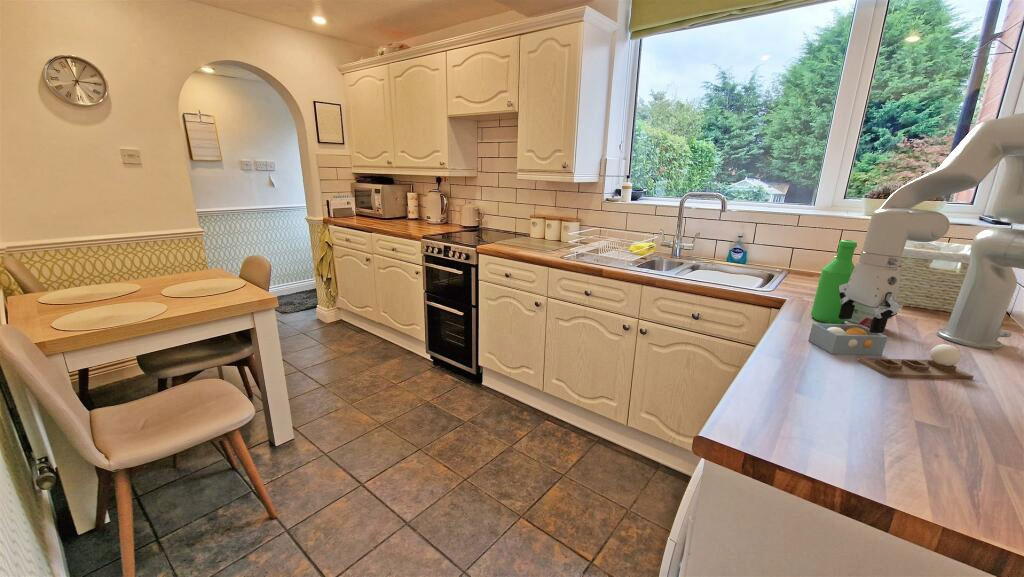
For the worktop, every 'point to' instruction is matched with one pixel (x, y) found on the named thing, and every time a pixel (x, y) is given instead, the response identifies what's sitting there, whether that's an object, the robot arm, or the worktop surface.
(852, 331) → the orange ball
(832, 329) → the cream ball in tray
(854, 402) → the worktop surface
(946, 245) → the basket
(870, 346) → the pale blue tray
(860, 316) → the ink box
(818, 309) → the bottle
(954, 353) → the cream ball on rack
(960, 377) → the walnut rack
